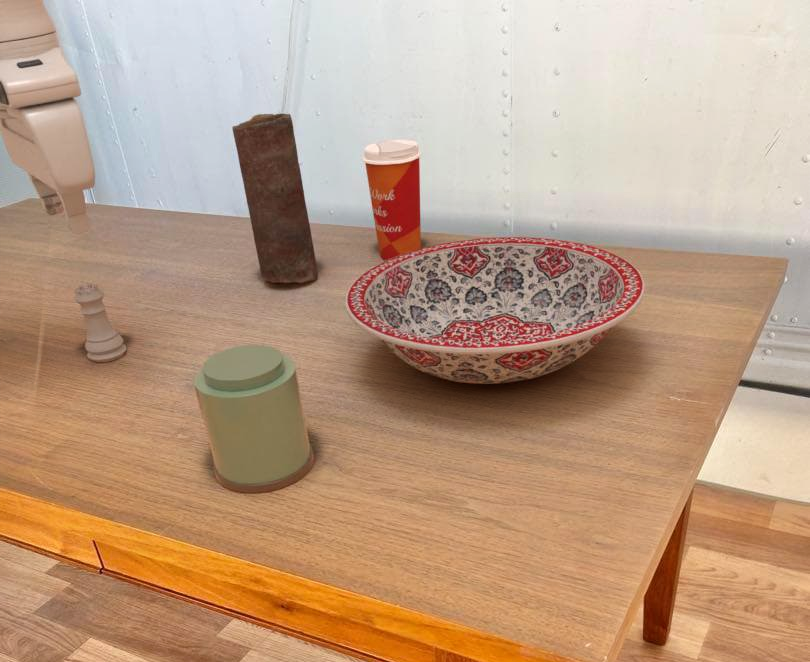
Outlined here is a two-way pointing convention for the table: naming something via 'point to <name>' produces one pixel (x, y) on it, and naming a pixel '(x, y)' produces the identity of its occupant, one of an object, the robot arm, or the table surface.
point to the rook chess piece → (98, 326)
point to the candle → (276, 198)
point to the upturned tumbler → (254, 418)
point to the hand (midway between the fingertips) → (67, 221)
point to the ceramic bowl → (495, 306)
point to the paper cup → (395, 195)
